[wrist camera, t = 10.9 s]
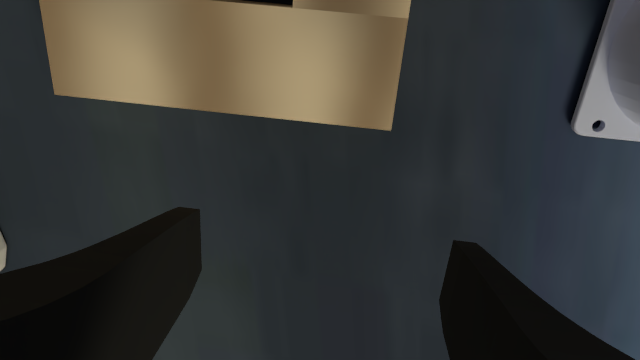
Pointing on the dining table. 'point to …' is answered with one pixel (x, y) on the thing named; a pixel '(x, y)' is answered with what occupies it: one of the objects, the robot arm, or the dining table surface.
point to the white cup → (2, 252)
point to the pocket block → (233, 56)
